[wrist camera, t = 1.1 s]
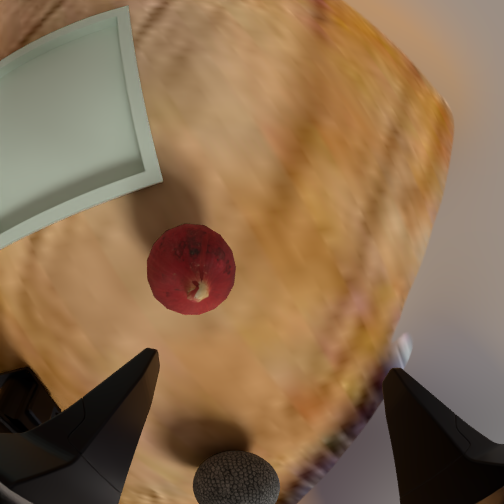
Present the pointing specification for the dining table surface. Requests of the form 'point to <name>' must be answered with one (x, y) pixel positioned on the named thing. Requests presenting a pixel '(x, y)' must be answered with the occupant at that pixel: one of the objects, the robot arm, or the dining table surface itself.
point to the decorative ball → (236, 480)
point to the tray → (72, 125)
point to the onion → (191, 269)
